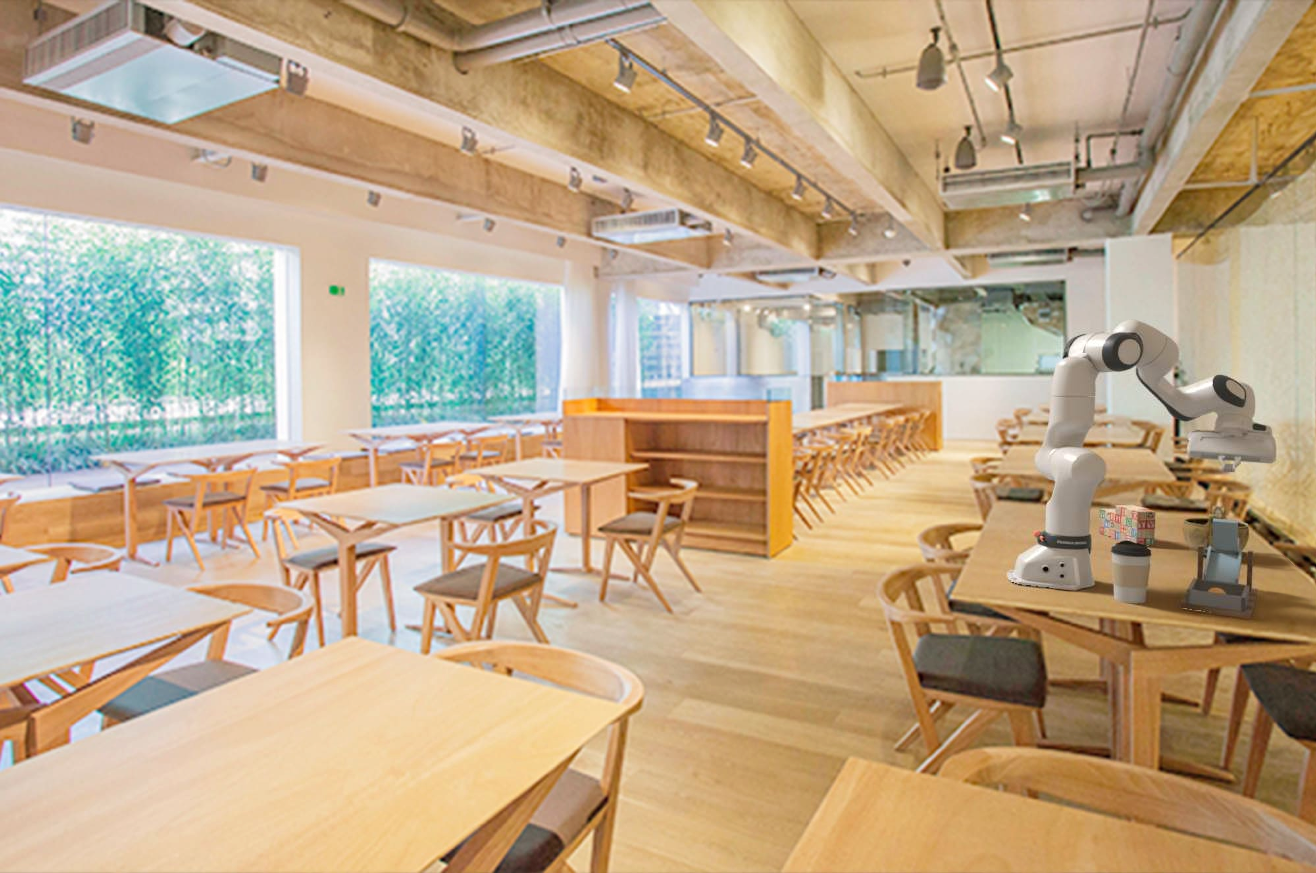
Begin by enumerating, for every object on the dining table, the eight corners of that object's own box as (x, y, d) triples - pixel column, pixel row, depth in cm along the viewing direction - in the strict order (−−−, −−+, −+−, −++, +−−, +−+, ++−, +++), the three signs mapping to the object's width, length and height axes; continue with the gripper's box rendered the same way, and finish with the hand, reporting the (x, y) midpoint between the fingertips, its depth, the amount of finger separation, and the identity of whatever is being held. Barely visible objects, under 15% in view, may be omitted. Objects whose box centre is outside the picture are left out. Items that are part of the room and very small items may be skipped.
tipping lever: (1208, 552, 213) (1207, 505, 206) (1248, 556, 207) (1248, 509, 200) (1200, 596, 201) (1198, 548, 194) (1242, 602, 195) (1242, 553, 189)
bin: (1193, 591, 201) (1193, 578, 201) (1248, 598, 193) (1249, 585, 193) (1186, 603, 191) (1186, 589, 190) (1244, 612, 183) (1245, 597, 183)
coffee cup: (1156, 605, 194) (1158, 547, 193) (1117, 604, 196) (1118, 546, 195) (1141, 595, 203) (1143, 539, 202) (1104, 594, 205) (1105, 539, 204)
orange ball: (1212, 582, 191) (1212, 596, 192) (1203, 589, 190) (1203, 602, 191) (1230, 588, 188) (1230, 602, 189) (1220, 595, 186) (1220, 609, 187)
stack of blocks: (1098, 533, 279) (1099, 500, 278) (1115, 533, 279) (1116, 500, 278) (1136, 547, 258) (1137, 511, 257) (1154, 546, 258) (1156, 510, 257)
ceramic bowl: (1246, 566, 230) (1248, 517, 228) (1178, 559, 240) (1180, 512, 239) (1248, 552, 247) (1250, 506, 246) (1185, 546, 257) (1186, 502, 256)
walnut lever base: (1193, 585, 211) (1194, 543, 210) (1257, 594, 202) (1259, 549, 201) (1180, 608, 191) (1181, 561, 190) (1250, 619, 182) (1252, 570, 181)
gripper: (1188, 423, 223) (1182, 460, 217) (1278, 427, 210) (1275, 467, 204) (1189, 436, 227) (1183, 473, 221) (1277, 441, 214) (1274, 481, 208)
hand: (1228, 470), depth 213 cm, fingers closed
